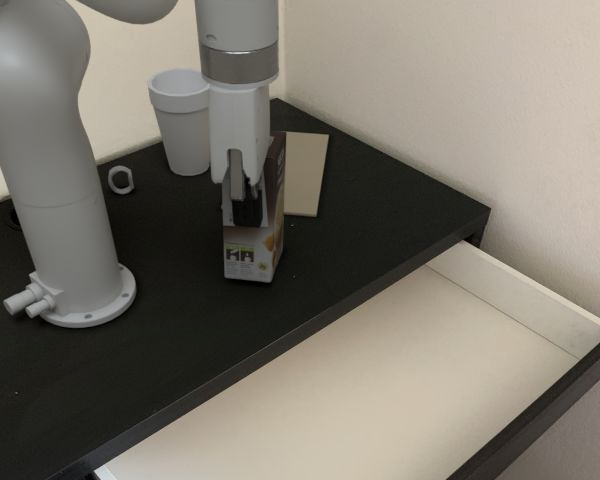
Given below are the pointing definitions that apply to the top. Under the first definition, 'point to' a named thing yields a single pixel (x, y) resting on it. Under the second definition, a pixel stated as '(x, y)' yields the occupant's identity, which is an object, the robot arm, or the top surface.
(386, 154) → the top surface
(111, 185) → the grey ring
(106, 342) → the top surface
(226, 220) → the coffee box
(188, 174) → the foam cup
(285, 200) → the mat
